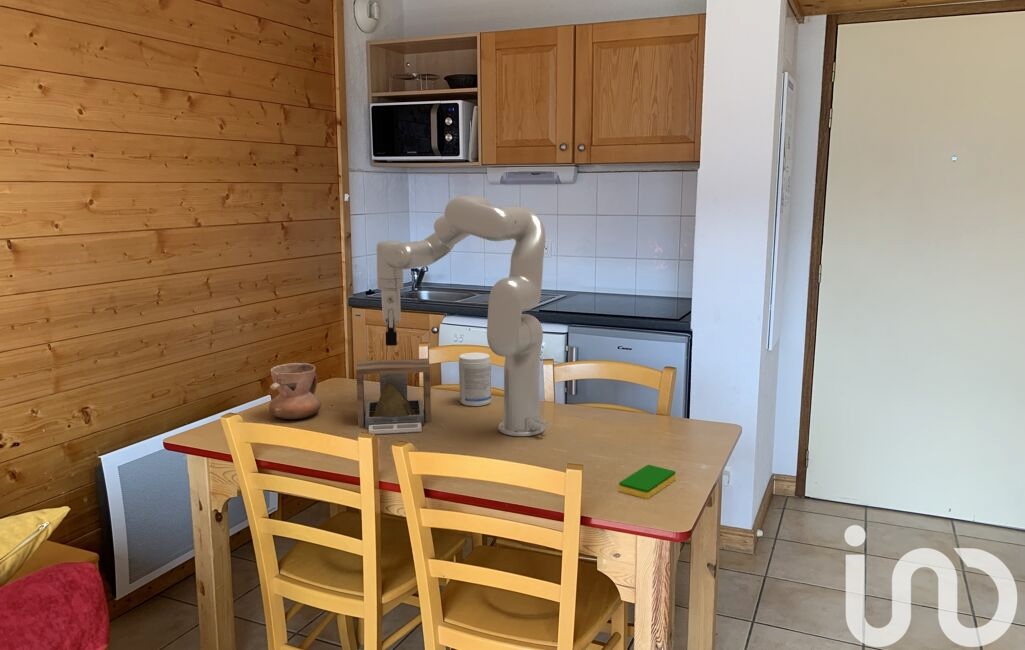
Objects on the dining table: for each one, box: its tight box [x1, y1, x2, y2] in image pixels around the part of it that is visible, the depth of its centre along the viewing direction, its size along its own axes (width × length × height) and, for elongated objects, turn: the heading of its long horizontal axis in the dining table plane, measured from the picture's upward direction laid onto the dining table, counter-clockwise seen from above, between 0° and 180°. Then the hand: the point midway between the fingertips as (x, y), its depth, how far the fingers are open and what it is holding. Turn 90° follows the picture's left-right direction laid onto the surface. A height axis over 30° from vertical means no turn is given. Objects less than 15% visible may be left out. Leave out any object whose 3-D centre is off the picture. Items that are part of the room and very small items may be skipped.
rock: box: [373, 383, 415, 417], centre depth 220 cm, size 11×9×10 cm
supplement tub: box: [458, 352, 492, 407], centre depth 236 cm, size 10×10×15 cm
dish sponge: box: [618, 464, 676, 500], centre depth 174 cm, size 7×14×2 cm, turn 143°
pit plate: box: [368, 422, 423, 436], centre depth 211 cm, size 5×14×1 cm, turn 99°
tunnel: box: [355, 357, 432, 427], centre depth 220 cm, size 10×20×16 cm, turn 99°
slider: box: [364, 373, 425, 429], centre depth 225 cm, size 25×16×9 cm, turn 9°
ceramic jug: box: [268, 362, 322, 420], centre depth 223 cm, size 18×14×14 cm
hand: (391, 344), depth 231 cm, fingers closed
